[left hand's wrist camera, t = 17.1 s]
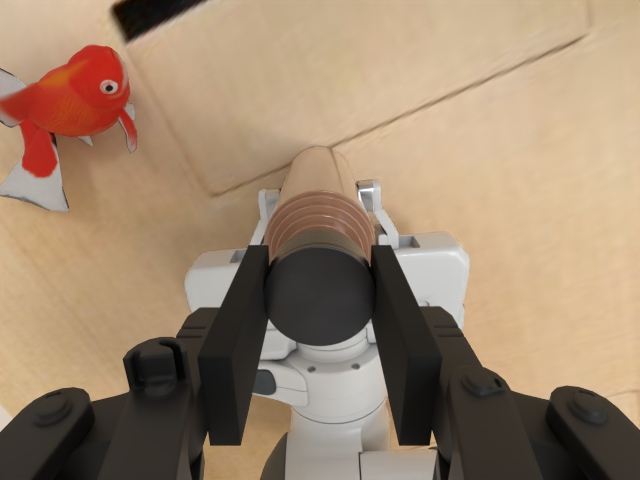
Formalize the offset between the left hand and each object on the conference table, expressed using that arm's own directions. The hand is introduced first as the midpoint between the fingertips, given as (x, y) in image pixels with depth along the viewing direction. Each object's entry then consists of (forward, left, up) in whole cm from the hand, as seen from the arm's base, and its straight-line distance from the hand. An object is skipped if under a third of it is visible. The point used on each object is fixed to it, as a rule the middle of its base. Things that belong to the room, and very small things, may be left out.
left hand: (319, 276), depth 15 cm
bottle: (0, 0, -18) cm, 18 cm away
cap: (0, 0, +1) cm, 1 cm away
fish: (0, -19, -18) cm, 26 cm away
